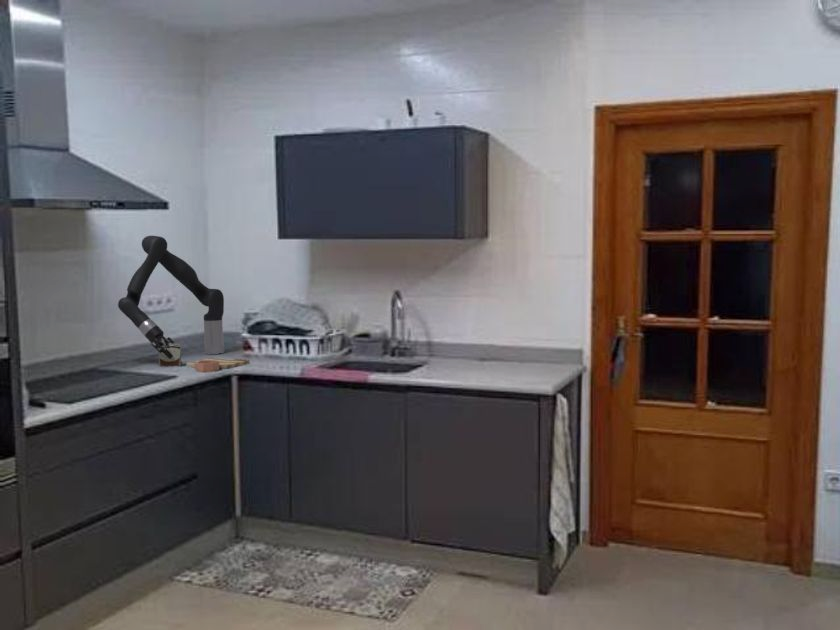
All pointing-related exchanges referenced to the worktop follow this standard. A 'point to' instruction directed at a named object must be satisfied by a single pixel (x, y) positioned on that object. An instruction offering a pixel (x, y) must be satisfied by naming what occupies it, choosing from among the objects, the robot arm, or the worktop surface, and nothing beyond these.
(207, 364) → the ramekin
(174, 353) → the food container
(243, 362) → the board
